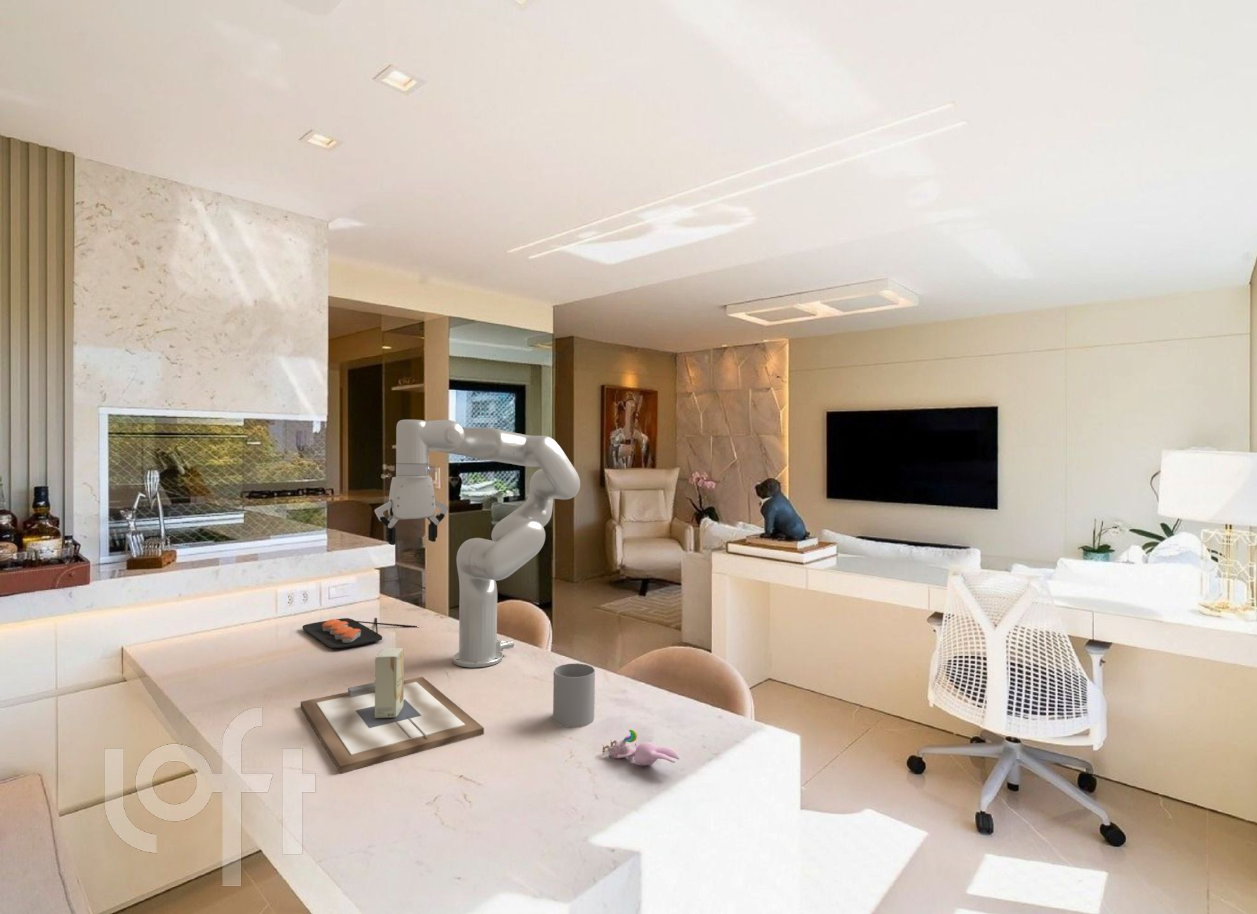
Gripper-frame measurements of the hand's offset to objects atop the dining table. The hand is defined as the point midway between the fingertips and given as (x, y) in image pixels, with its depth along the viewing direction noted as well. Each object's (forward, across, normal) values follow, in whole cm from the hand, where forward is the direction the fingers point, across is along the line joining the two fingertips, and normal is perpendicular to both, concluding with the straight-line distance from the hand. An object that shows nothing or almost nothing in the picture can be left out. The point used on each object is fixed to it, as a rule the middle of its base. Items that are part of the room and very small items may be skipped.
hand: (412, 542), depth 155 cm
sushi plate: (+33, -2, -45) cm, 56 cm away
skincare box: (+31, +12, +22) cm, 40 cm away
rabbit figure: (+33, -18, +66) cm, 76 cm away
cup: (+32, -19, +43) cm, 57 cm away
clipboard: (+32, +12, +22) cm, 41 cm away
